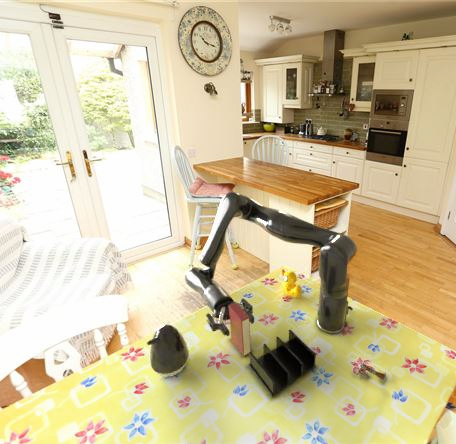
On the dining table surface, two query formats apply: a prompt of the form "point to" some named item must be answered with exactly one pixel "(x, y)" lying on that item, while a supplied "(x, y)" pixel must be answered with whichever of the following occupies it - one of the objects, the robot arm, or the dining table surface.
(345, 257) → the robot arm
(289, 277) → the duckling
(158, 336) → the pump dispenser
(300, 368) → the book rack
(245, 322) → the book
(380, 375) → the brown two-tone jointed fixture
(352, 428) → the dining table surface
